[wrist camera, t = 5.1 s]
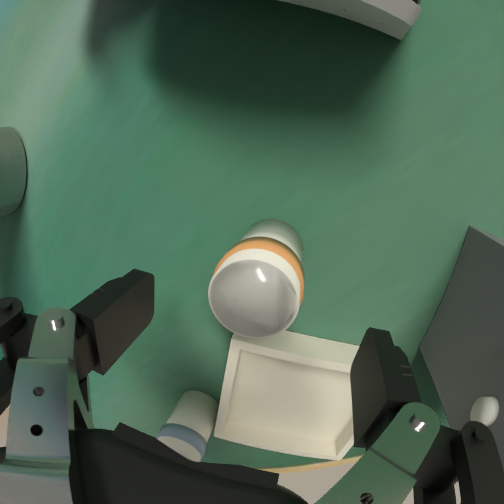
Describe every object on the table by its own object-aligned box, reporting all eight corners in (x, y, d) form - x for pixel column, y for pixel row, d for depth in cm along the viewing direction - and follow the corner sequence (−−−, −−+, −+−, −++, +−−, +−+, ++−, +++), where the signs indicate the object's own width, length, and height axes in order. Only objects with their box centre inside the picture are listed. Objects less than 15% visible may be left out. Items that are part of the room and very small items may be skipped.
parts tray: (220, 417, 26) (213, 436, 23) (239, 319, 21) (231, 338, 19) (339, 441, 24) (340, 460, 22) (395, 352, 20) (402, 372, 18)
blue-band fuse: (178, 409, 27) (151, 459, 20) (180, 383, 25) (149, 437, 19) (218, 423, 26) (196, 477, 20) (224, 398, 25) (201, 458, 18)
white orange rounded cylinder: (234, 271, 20) (200, 327, 14) (245, 209, 19) (211, 242, 12) (296, 286, 20) (289, 350, 13) (312, 225, 18) (314, 267, 12)
